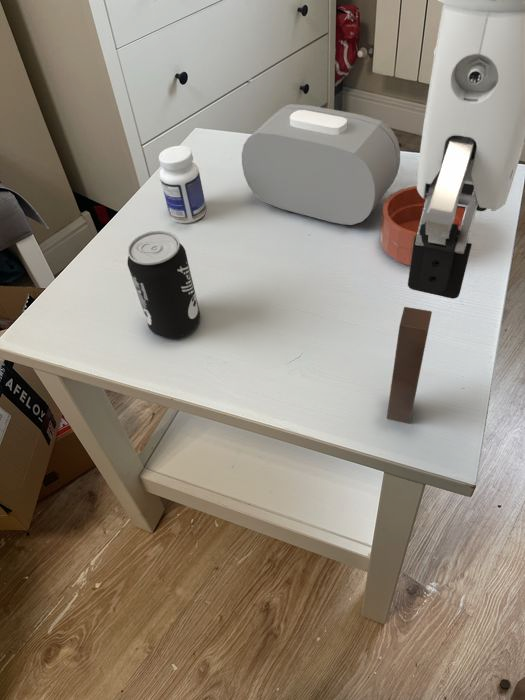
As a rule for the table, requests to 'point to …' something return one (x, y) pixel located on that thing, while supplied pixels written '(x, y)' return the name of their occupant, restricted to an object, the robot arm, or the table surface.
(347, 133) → the alarm clock
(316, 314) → the table surface
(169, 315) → the beverage can
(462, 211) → the bowl
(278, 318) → the table surface
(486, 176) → the robot arm
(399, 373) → the stick
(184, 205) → the pill bottle
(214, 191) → the table surface
